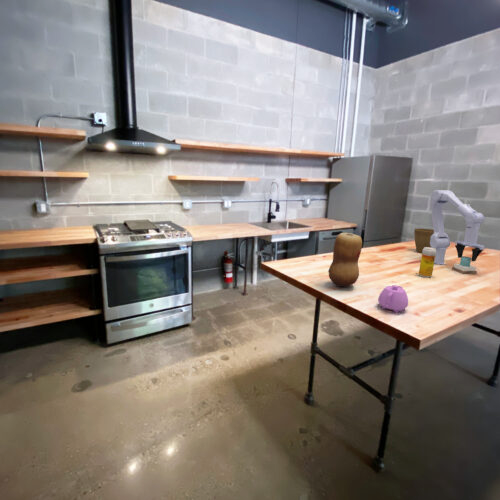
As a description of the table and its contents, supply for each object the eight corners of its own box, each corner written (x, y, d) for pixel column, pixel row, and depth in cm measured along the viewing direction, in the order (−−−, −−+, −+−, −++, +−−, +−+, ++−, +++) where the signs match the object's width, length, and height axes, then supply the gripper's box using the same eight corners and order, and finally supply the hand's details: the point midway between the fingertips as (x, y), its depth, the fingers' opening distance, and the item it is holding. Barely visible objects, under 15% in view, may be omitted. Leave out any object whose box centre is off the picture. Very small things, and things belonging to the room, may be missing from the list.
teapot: (372, 309, 115) (375, 286, 113) (385, 298, 126) (388, 277, 124) (400, 318, 108) (404, 294, 106) (412, 305, 119) (416, 283, 117)
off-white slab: (463, 271, 162) (464, 267, 161) (453, 267, 169) (454, 263, 168) (475, 271, 162) (476, 267, 162) (465, 267, 169) (466, 263, 169)
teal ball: (460, 265, 164) (462, 257, 163) (459, 263, 168) (460, 255, 167) (470, 267, 162) (472, 258, 161) (468, 264, 166) (470, 257, 165)
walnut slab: (462, 275, 162) (462, 271, 161) (451, 270, 170) (452, 266, 169) (476, 275, 162) (476, 271, 162) (464, 270, 170) (465, 267, 170)
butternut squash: (353, 293, 130) (359, 237, 125) (323, 287, 137) (328, 234, 131) (360, 284, 142) (366, 233, 136) (332, 278, 149) (337, 229, 143)
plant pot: (439, 255, 202) (444, 232, 198) (417, 254, 202) (421, 231, 198) (427, 250, 216) (431, 228, 213) (407, 249, 216) (410, 227, 213)
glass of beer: (427, 278, 153) (432, 250, 149) (416, 274, 158) (420, 247, 155) (434, 276, 156) (439, 249, 152) (423, 273, 161) (427, 246, 157)
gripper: (453, 233, 166) (448, 256, 169) (479, 238, 153) (474, 263, 156) (462, 232, 168) (457, 255, 172) (489, 237, 155) (483, 262, 158)
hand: (466, 259), depth 164 cm, fingers open, 7 cm apart
